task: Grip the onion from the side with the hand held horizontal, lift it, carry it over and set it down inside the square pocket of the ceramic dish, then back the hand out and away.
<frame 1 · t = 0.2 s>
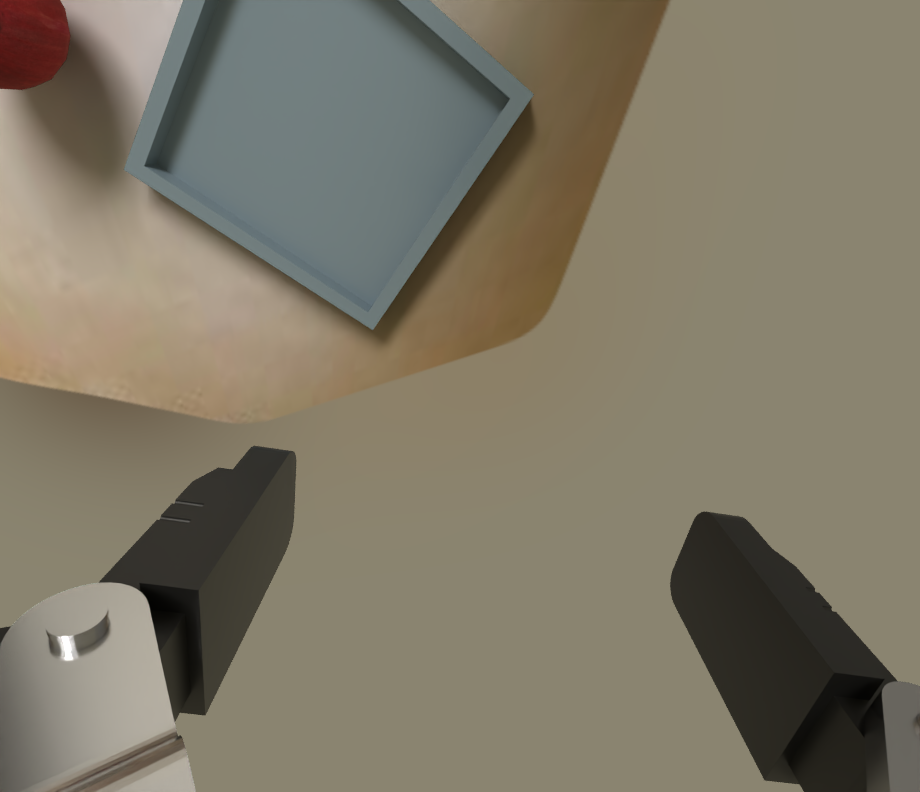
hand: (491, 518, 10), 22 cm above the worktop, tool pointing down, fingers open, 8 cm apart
dish: (329, 132, 26), on the worktop
onion: (48, 23, 24), on the worktop
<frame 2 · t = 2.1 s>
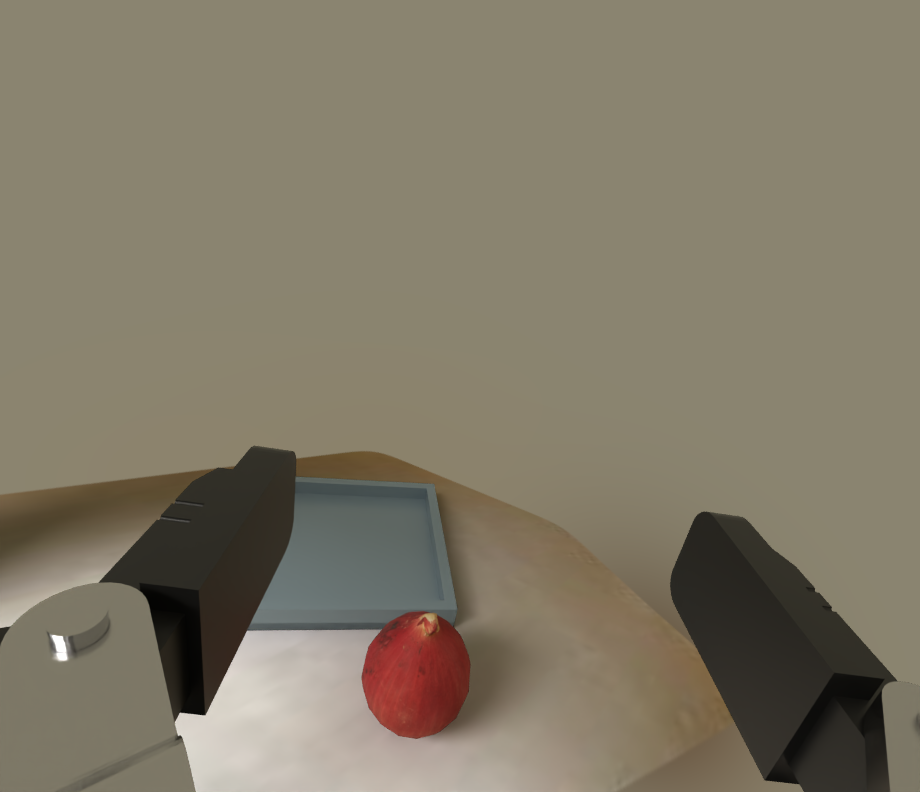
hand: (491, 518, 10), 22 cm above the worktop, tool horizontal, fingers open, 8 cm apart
dish: (348, 551, 40), on the worktop
onion: (407, 718, 28), on the worktop
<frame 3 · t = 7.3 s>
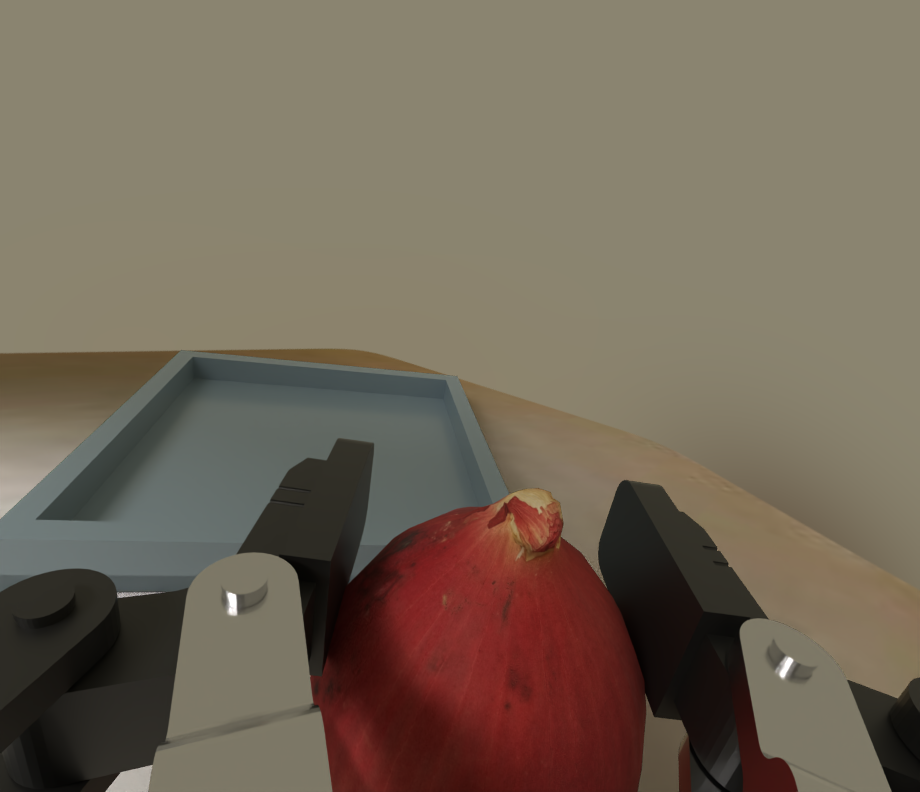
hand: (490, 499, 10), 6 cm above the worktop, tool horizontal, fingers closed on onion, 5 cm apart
dish: (312, 461, 22), on the worktop
when the fingers open (8 cm above the worktop, at t = 13.1 s): onion drops 1 cm, resting on dish.
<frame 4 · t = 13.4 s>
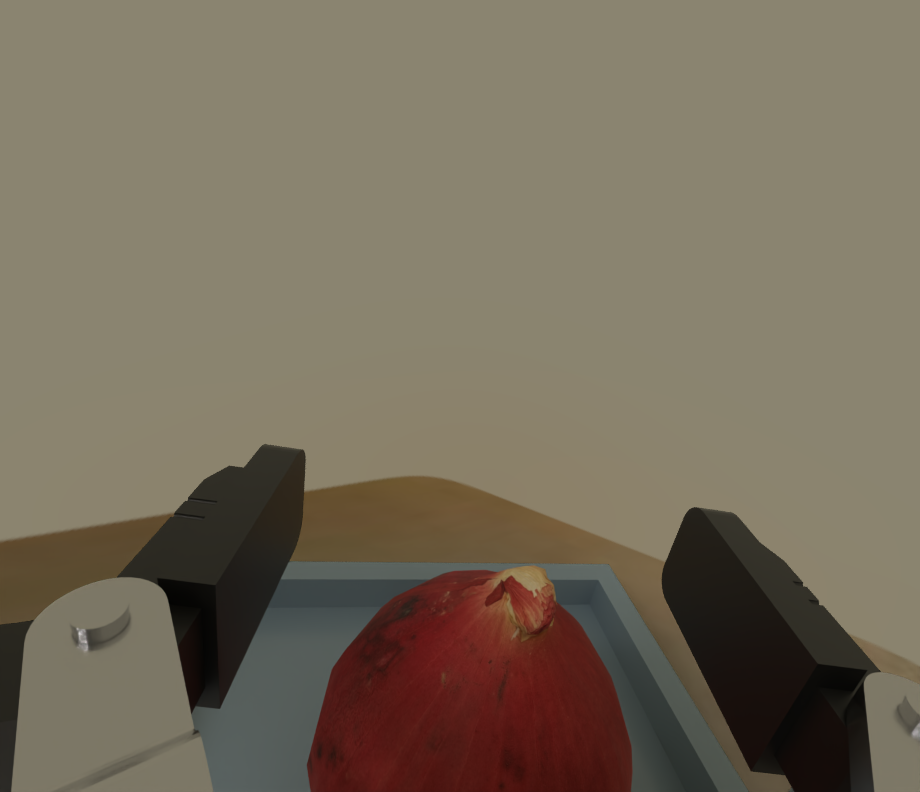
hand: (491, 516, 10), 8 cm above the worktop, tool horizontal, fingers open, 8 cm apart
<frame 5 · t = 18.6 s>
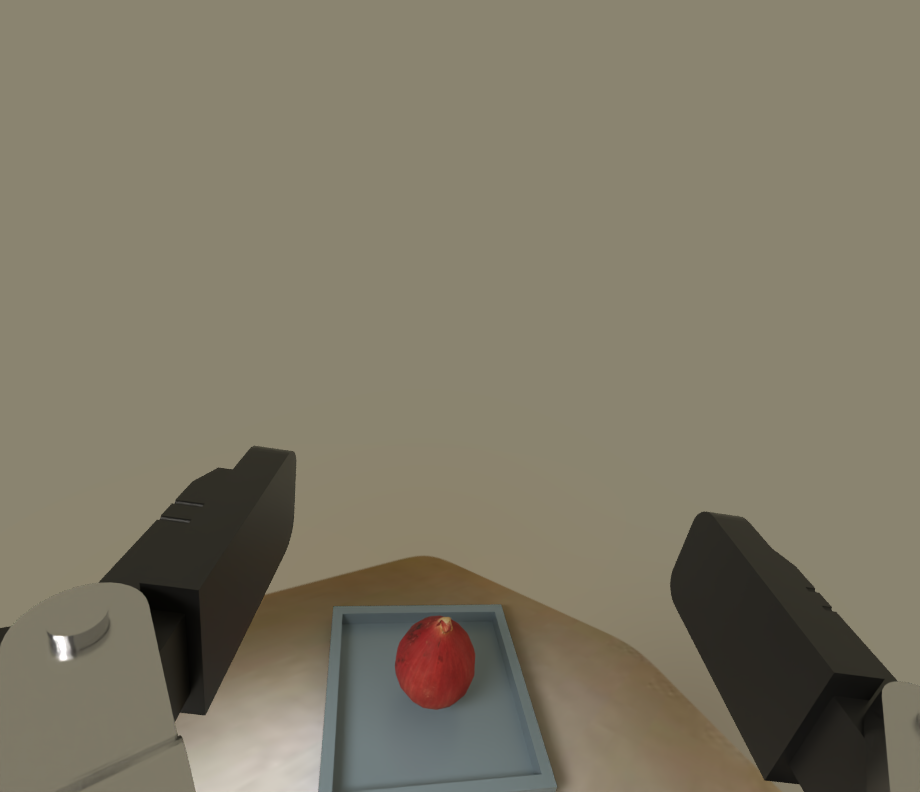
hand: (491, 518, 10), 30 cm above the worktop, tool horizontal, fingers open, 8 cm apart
dish: (426, 700, 38), on the worktop
onion: (428, 697, 37), resting on dish
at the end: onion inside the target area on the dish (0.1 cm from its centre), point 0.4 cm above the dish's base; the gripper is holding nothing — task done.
